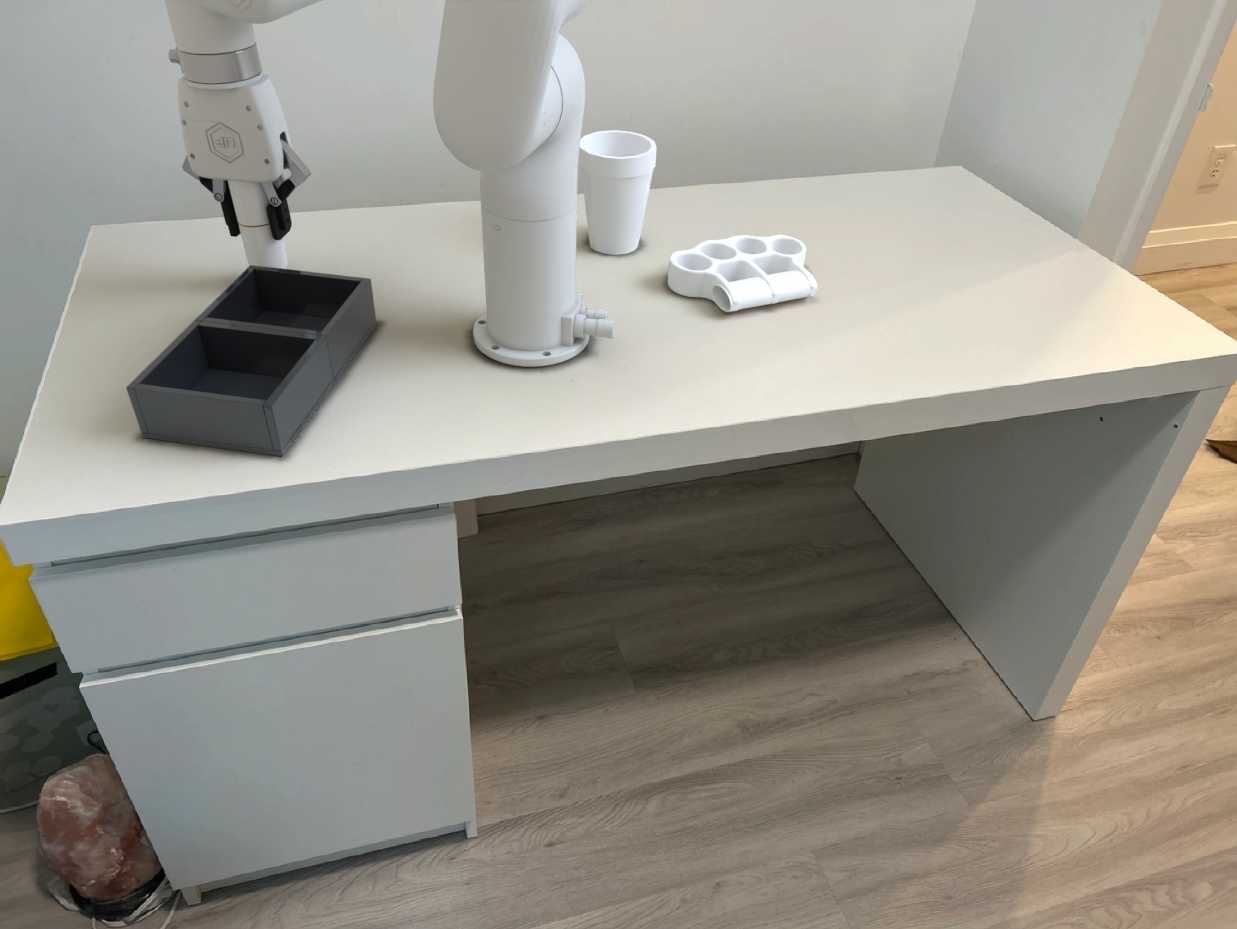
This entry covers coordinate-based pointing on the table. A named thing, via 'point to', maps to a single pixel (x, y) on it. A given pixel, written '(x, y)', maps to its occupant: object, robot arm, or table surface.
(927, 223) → the table surface
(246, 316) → the right basin
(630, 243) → the foam cup
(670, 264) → the knuckle duster
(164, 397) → the left basin
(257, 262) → the tube
